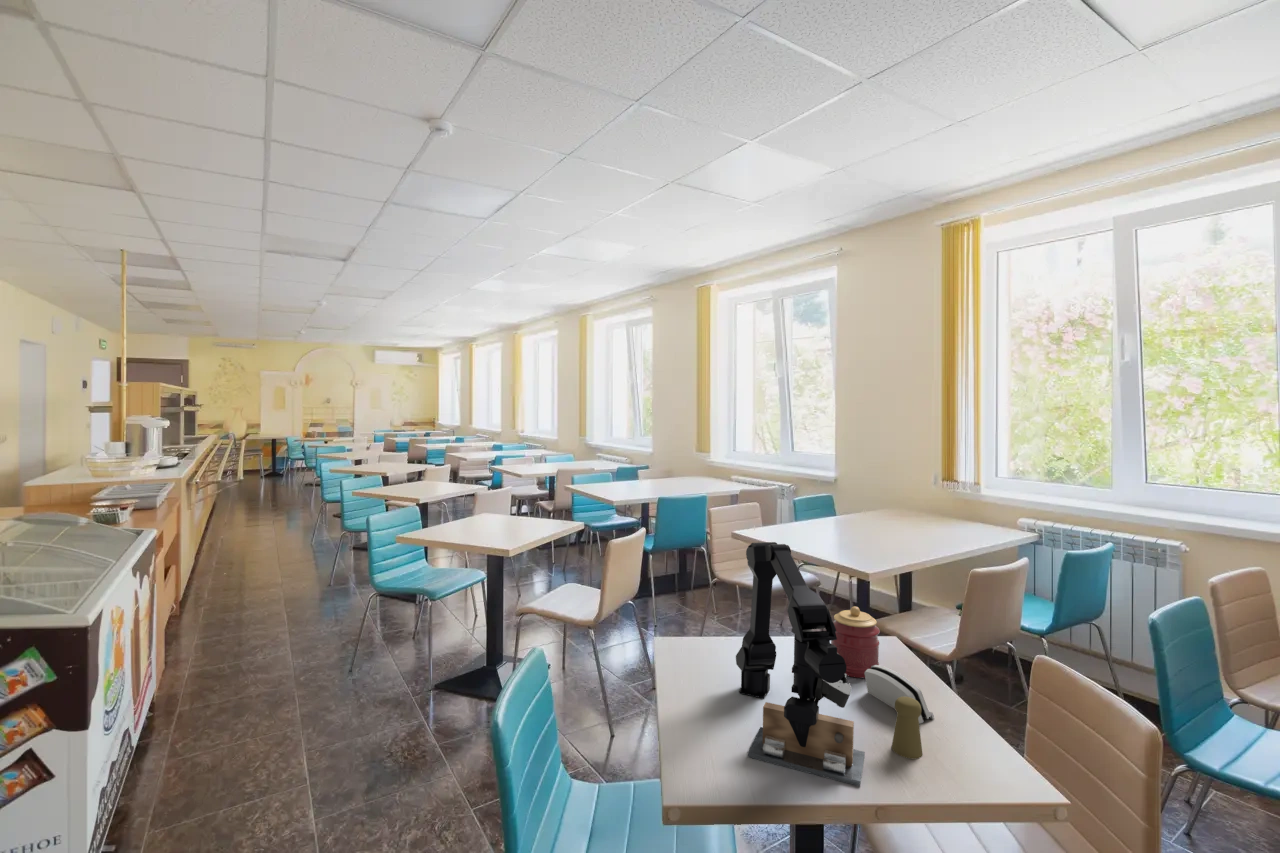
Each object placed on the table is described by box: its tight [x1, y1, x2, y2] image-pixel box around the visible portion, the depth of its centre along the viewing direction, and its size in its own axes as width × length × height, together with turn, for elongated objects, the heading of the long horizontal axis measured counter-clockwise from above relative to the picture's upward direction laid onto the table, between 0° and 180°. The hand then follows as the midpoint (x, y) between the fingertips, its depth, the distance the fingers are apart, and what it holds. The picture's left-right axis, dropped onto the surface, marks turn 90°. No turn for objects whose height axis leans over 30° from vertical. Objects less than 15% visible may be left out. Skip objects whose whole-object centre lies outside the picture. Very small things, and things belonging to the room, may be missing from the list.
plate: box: [747, 726, 866, 787], centre depth 122 cm, size 22×11×4 cm, turn 65°
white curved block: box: [864, 664, 935, 725], centre depth 144 cm, size 17×5×10 cm, turn 22°
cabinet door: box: [762, 701, 855, 766], centre depth 122 cm, size 18×4×8 cm, turn 65°
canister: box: [830, 606, 881, 679], centre depth 165 cm, size 13×13×18 cm
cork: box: [891, 696, 924, 760], centre depth 125 cm, size 6×6×11 cm
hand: (806, 735), depth 122 cm, fingers open, 9 cm apart
